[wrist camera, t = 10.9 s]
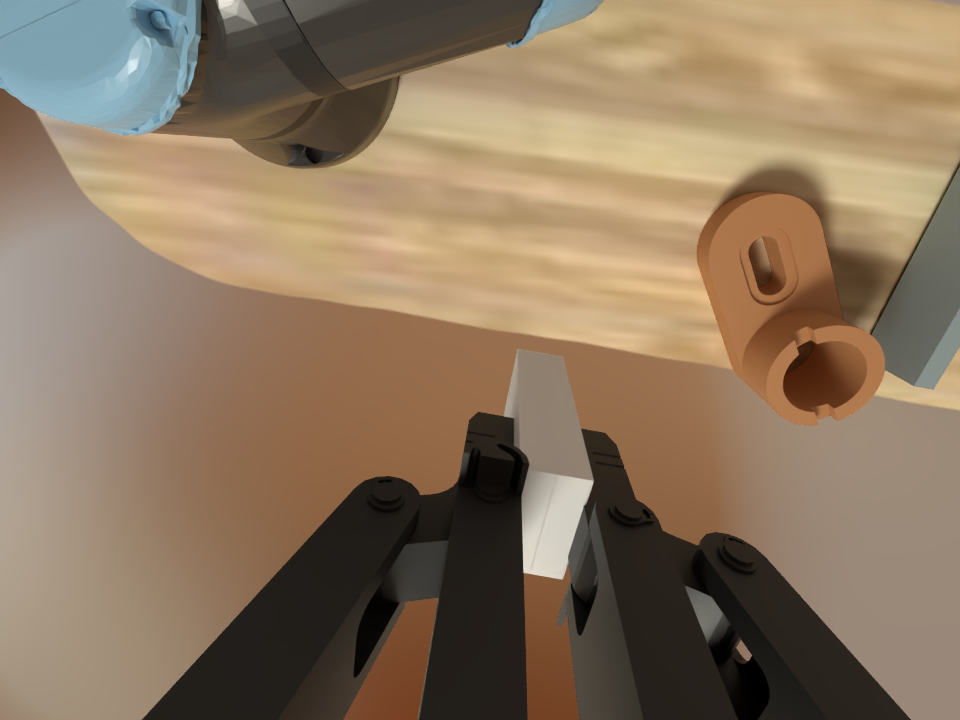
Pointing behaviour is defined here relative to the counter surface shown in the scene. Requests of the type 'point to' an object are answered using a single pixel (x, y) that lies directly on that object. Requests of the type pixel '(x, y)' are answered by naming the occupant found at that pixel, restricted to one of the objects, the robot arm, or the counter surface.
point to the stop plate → (926, 302)
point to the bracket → (785, 310)
